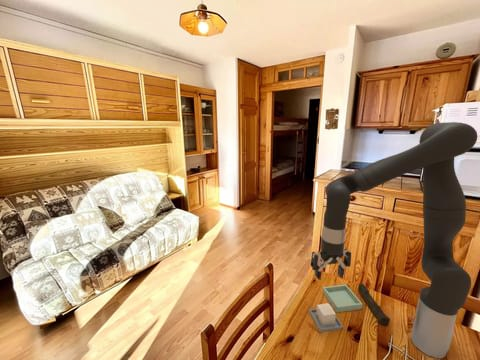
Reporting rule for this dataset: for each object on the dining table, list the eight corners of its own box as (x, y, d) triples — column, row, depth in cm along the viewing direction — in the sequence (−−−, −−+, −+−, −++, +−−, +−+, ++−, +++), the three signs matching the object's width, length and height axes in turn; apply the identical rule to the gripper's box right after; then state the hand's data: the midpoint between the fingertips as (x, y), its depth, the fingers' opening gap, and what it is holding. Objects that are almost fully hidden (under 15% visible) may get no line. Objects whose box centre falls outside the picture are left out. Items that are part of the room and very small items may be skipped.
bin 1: (329, 309, 88) (330, 306, 87) (343, 329, 79) (343, 326, 78) (308, 312, 86) (309, 309, 86) (319, 333, 78) (320, 330, 77)
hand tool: (389, 326, 80) (391, 316, 79) (378, 326, 80) (380, 316, 79) (364, 289, 98) (366, 281, 97) (355, 289, 98) (357, 280, 97)
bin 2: (345, 289, 98) (346, 284, 97) (361, 309, 87) (362, 304, 86) (322, 292, 96) (323, 287, 96) (336, 313, 86) (337, 307, 85)
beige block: (327, 313, 85) (328, 303, 84) (334, 324, 80) (335, 313, 79) (316, 315, 84) (316, 304, 83) (322, 326, 80) (323, 315, 78)
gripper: (319, 244, 69) (316, 286, 73) (358, 241, 71) (353, 281, 75) (309, 234, 77) (306, 272, 80) (345, 230, 78) (341, 268, 82)
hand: (329, 276), depth 78 cm, fingers open, 8 cm apart
